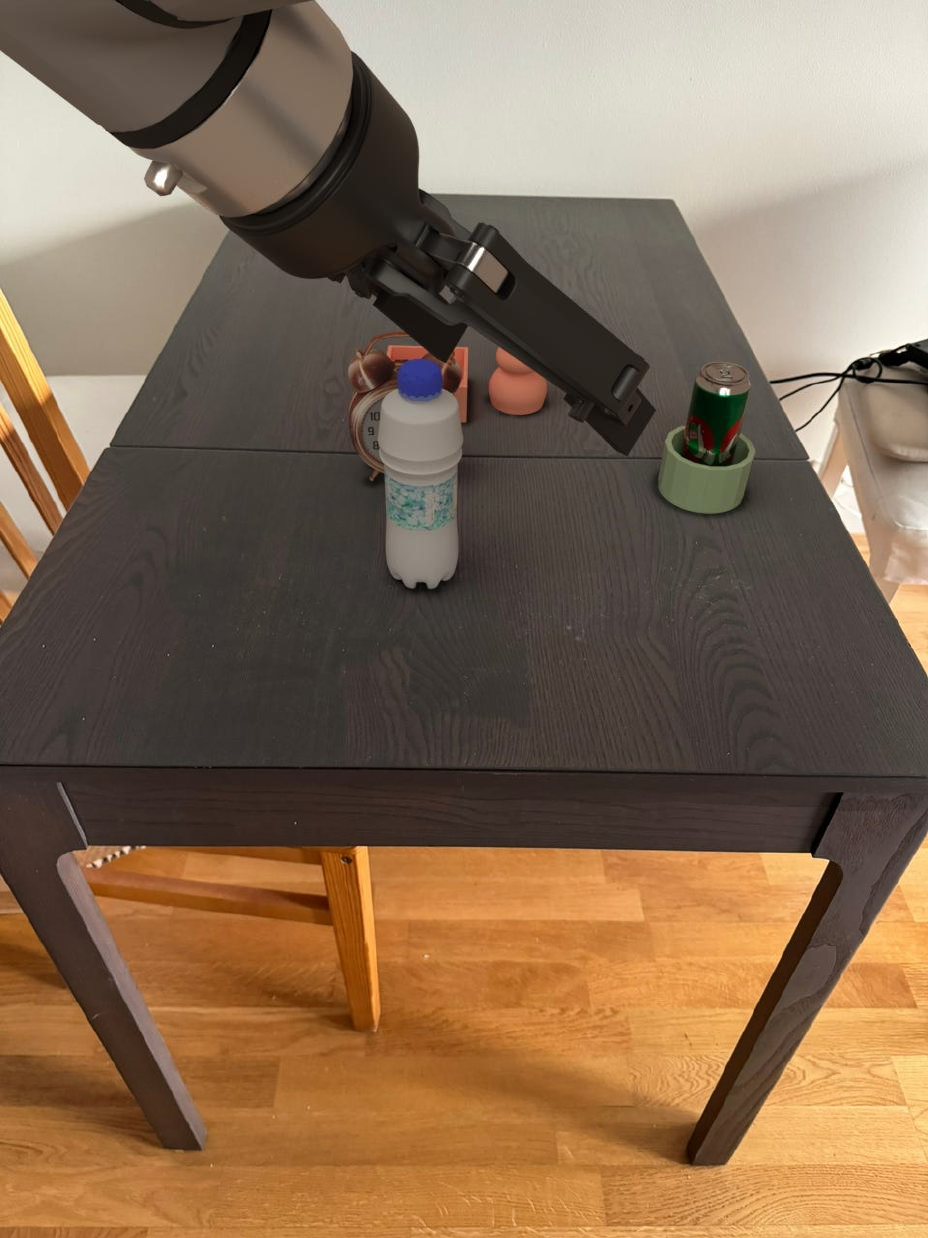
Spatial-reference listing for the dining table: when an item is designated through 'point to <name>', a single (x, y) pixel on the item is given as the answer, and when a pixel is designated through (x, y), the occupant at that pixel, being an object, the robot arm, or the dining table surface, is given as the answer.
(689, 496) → the cup
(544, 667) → the dining table surface
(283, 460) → the dining table surface
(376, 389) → the alarm clock
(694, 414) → the soda can
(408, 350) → the pottery
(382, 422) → the bottle
